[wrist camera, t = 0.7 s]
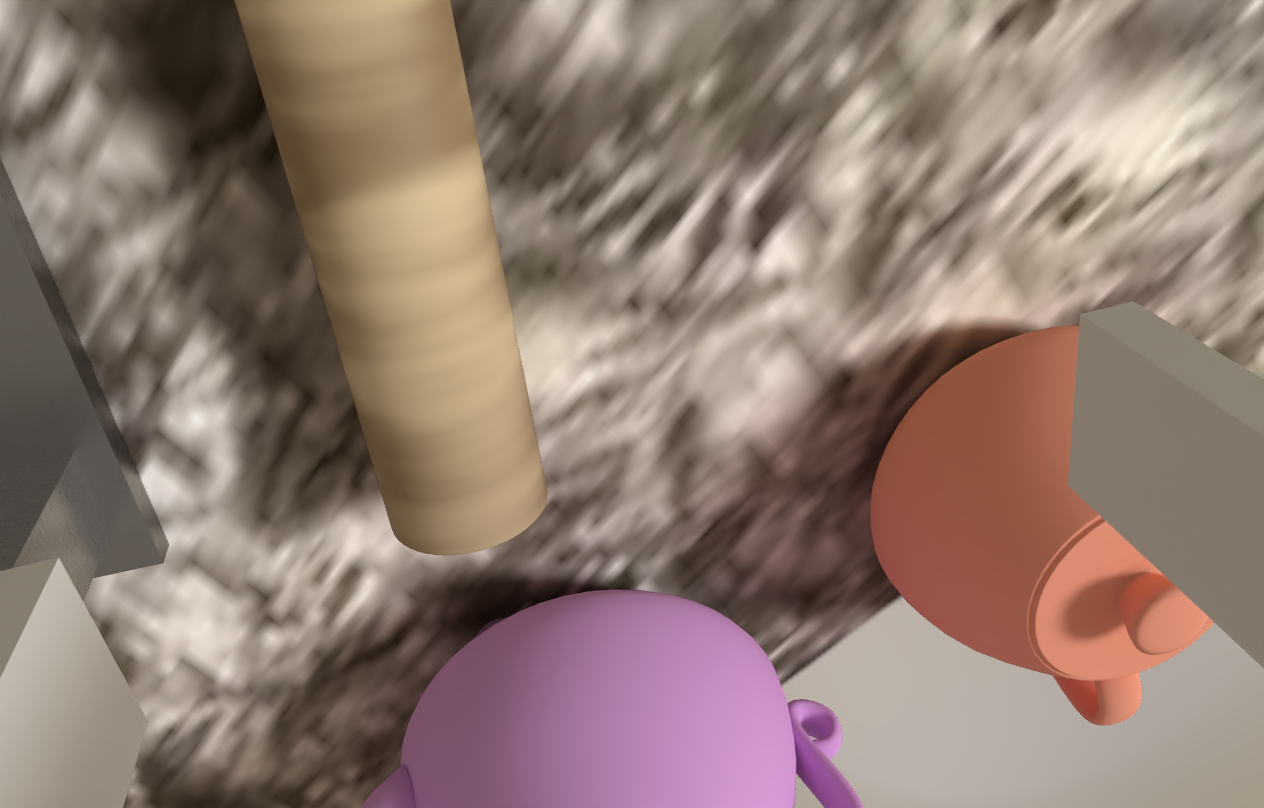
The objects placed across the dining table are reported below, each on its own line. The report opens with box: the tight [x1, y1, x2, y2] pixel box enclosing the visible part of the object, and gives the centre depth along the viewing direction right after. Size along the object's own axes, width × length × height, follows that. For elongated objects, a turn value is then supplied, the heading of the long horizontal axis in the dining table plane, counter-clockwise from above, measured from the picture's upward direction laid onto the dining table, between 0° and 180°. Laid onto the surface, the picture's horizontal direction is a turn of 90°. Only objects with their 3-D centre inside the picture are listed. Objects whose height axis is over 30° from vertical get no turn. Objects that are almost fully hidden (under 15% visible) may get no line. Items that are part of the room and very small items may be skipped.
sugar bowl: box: [870, 326, 1214, 726], centre depth 35 cm, size 12×14×10 cm
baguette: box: [235, 0, 548, 555], centre depth 27 cm, size 22×5×5 cm, turn 7°
